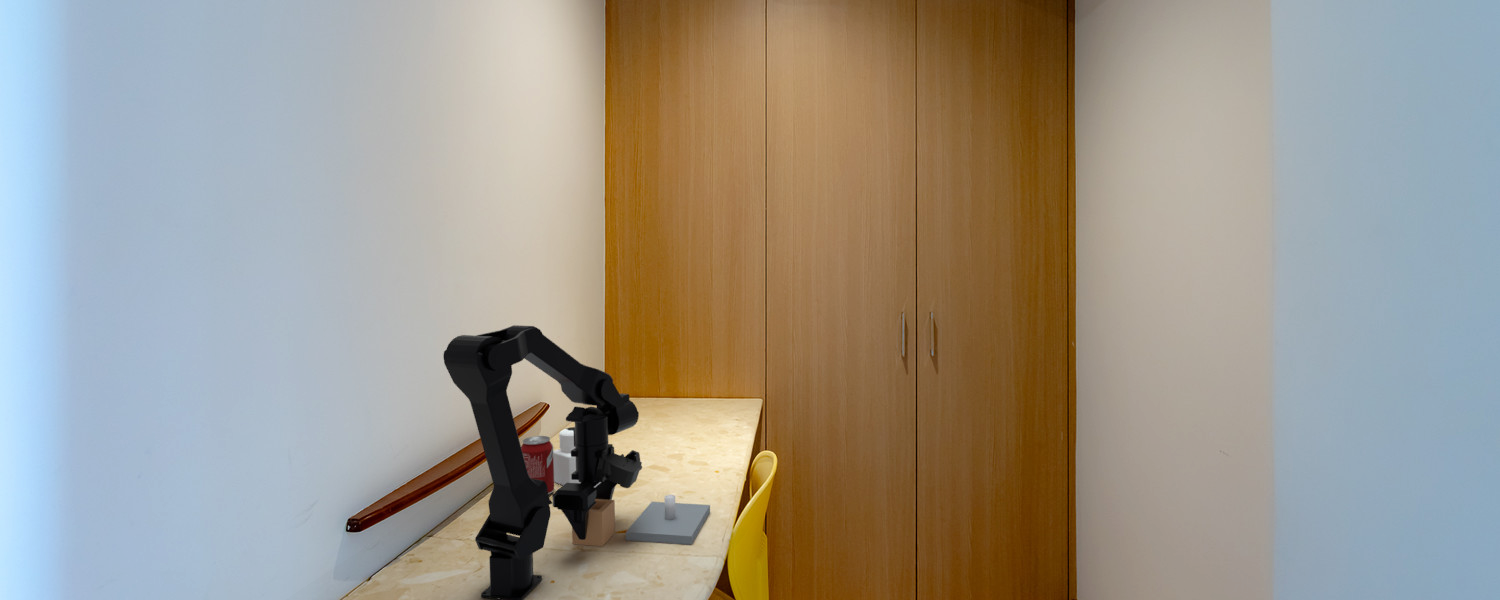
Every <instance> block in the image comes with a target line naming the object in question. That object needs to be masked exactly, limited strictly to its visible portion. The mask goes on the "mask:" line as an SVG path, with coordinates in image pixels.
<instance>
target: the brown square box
mask: <svg viewBox="0 0 1500 600" xmlns="http://www.w3.org/2000/svg"><path fill="white" fill-rule="evenodd" d="M595 502H597V503H596V504H595V505H594V506H593V507H592V508H591V509H590V510H589V517H588V526H587V534H586V539H585V540H580V539H579V538H578V536H577V535H576V533H575V531H574V529H573V528H572V527H571V531H572V532H571V535H572V536H571V537H572V540H571V541H572V542H571V543H572V545H582V546H583V545H584V546H594V547H596V546H597V547H603V546H604V545H605V544H606V543H607V542H608V541H609V540H610V539H611V537H612V536H613V535H614V534H615V533H616V509H615V508H616V505H615V499H612V500H605V499H595Z"/></svg>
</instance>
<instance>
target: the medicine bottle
mask: <svg viewBox="0 0 1500 600" xmlns="http://www.w3.org/2000/svg"><path fill="white" fill-rule="evenodd" d="M558 438H559V449H555V450H554V449H553V459H554V483H556V484H558V485H561V486H563V485H565V484H566V483H581V482H579V480H572V478H571V474H572V473H573V472H575V471H576V457H571V450H573V449H575V426H572V427H566V428H564V429H562V430H561V431H560V432H559V437H558Z"/></svg>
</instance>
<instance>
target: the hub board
mask: <svg viewBox="0 0 1500 600" xmlns="http://www.w3.org/2000/svg"><path fill="white" fill-rule="evenodd" d="M710 514H711V504H699V503H697V504H696V503H682V502H681V503H680V502H676V495H674V494H667V495H665V496H664V501H651V502H650V503H649V504H648V505H647V507H646V508H645V509H644V510H643V511H642V513H640V514H639V516H638V517H637V518H636V520H635V521H634V522H633V523H632V524H631V525H630V527H629V528H628V529H627V530H626V531H625V541H632V542H645V543H646V542H649V543H663V544H675V545H676V544H677V545H690V546H691V545H692V544H694V541H695V539H696V537H698V534H699V533H700V531H701V530H702V528H703V526H704V523H706V520H707V519H708V517H709V515H710Z"/></svg>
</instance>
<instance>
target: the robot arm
mask: <svg viewBox="0 0 1500 600" xmlns="http://www.w3.org/2000/svg"><path fill="white" fill-rule="evenodd" d="M524 359H525V360H526V361H527V362H529V363H531V364H532V365H534V366H535V367H536V368H537V369H539V370H540V371H542V372H543V373H545V374H546V375H548V376H549V377H551V378H552V379H553V380H555V381H556V382H558V384H559V385H560V388H561V392H562V393H563V394H564V395H565V396H566V397H567V399H569V401H570V402H573V403H575V404H582V405H585V406H586V405H588V406H589V407H582V406H574V407H573V409H572V411H571V412H569V413H568V414H567V416H566V417H565V421H566V422H571V423H574V427H575V449H573V450H571V457H576V471H575V472H573V473H572V474H571V478H572V480H579V482H581V483H566V484H565V485H561V487H559V488H557V490H555V492H554V493H552V494H551V495H552V500H551V498H550V496H549V495H548V489H547V485H546V483H545V481H542V480H537V479H532V478H530V477H529V475H528V472H527V468H526V464H525V461H524V457H523V453H522V449H521V446H522V445H521V443H520V438H519V435H518V430H517V426H516V423H515V420H514V419H515V418H514V416H513V412H512V411H513V410H512V407H511V404H510V400H509V396H508V392H507V390H508V387H509V383H510V381H511V378H512V375H513V368H512V367H513V366H512V365H515V364H518V363H520V362H522V361H523V360H524ZM443 362H444V366H445V368H446V370H447V372H448V374H449V376H450V378H451V380H452V382H453V384H454V385H455V386H456V387H457V388H458V389H459V391H461V392H462V394H464V396H466V397H465V398H467V399H468V400H469V402H470V407H471V409H472V413H473V416H474V420H475V423H476V428H477V431H478V434H479V438H480V441H481V445H482V448H483V452H484V454H485V455H484V456H485V459H486V462H487V463H486V464H487V466H488V469H489V473H490V475H491V480H492V484H493V488H492V491H491V493H490V497H489V500H488V509H489V515H488V516H487V518H486V520H485V521H484V523H483V525H482V527H481V528H480V530H479V531H478V533H477V535H476V537H475V539H474V540H475V543H476V546H477V548H478V549H479V550H481V551H483V550H484V551H486V552H487V551H488V552H490V556H489V559H488V560H489V586H487V588H485V590H483V591H482V592H481V593H480V598H482V597H491V598H500V599H499V600H502V599H510V600H524V598H525V597H526V596H527V595H528V594H529V593H530V592H531V591H532V590H533V589H534V588H535V587H536V586H537V585H538V584H539V583H540V582H541V581H542V580H543V576H542V575H540V574H538V575H537V574H534V557H533V556H534V553H536V552H537V551H539V550H541V549H543V547H544V545H545V541H546V536H547V531H548V527H549V522H550V518H551V507H550V505H552V507H553V508H556V509H557V510H559V511H560V510H561V512H562V513H563V515H564V516H565V518H566V519H567V521H568V522H569V525H571V529H572V528H573V529H574V531H575V533H576V535H577V536H578V538H579V539H580V540H585V539H586V534H587V526H588V517H589V510H590V509H591V508H592V507H593V506H594V505H595V504H596V503H597V502H595V499H605V500H613V497H614V496H613V495H614V493H615V489H616V486H617V485H619V486H620V487H621V488H624V489H630V488H631V487H632V485H633V484H634V483H636V481H637V479H638V476H639V473H640V471H641V470H642V469H643V466H642V464H643V462H642V461H641V456H640V452H639V451H636V450H634V449H632V450H630V451H629V452H628V453H627V454H626V455H625V454H624V453H622V454H620V455H619V454H617V453H615V447H614V445H613V444H612V443H609V436H612V435H615V434H618V433H620V432H623V431H625V430H628V429H631V428H633V427H635V425H637V422H638V421H639V414H640V413H639V411H638V408H637V406H636V404H635V403H634V402H633V401H632V400H630V394H629V393H620V392H619V391H618V389H617V387H616V385H615V384H614V379H613V377H612V376H611V375H610V374H609V372H608V373H607V372H605V371H603V370H601V369H598V368H595V367H591V366H588V365H585V364H583V363H581V362H580V361H578V360H577V359H575V357H573V356H572V355H570V354H569V353H568V352H567V351H566V350H564V349H563V348H561V347H560V346H559V345H557V344H556V343H555V342H554V341H552V340H551V339H550V338H549V337H547V336H546V335H544V334H543V332H542V330H541V329H540V328H537V327H536V326H534V325H515V324H514V325H512V326H508V327H506V328H502V329H500V330H495V331H491V332H486V333H481V334H477V335H468V334H460V335H457V336H455V338H453V339H451V341H450V342H449V343H448V345H447V347H446V349H445V350H444V351H443ZM491 598H490V599H491Z"/></svg>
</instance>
